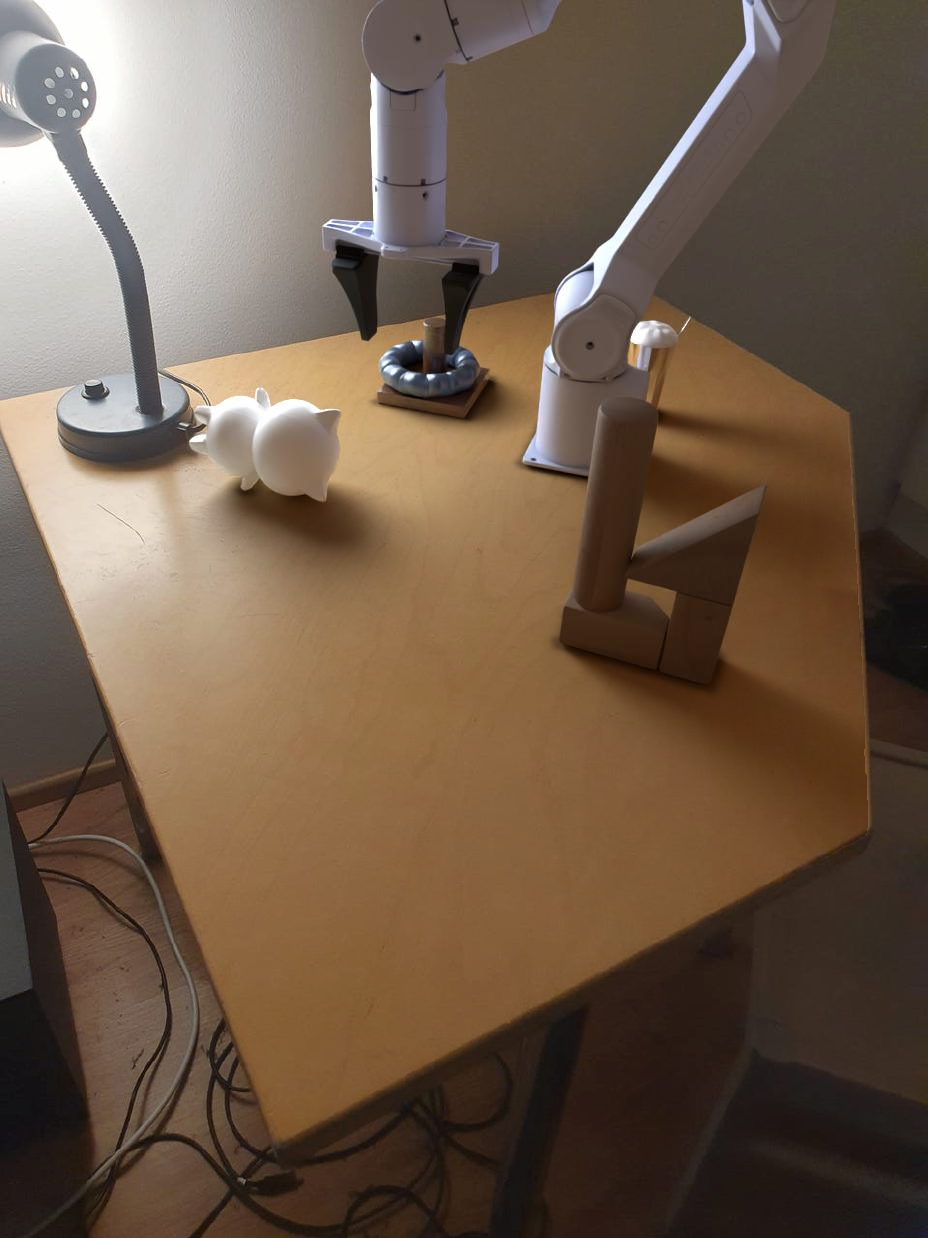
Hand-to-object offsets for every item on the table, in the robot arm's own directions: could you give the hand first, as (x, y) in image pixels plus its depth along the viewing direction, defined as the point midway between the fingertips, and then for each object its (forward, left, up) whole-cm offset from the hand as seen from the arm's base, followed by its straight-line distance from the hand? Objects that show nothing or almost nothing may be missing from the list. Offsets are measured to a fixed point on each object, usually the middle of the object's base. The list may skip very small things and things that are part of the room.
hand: (410, 343), depth 79 cm
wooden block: (-25, +22, -10) cm, 35 cm away
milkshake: (-20, -13, -10) cm, 26 cm away
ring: (+2, -10, -7) cm, 13 cm away
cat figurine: (+8, +10, -10) cm, 16 cm away
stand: (+1, -10, -9) cm, 14 cm away
